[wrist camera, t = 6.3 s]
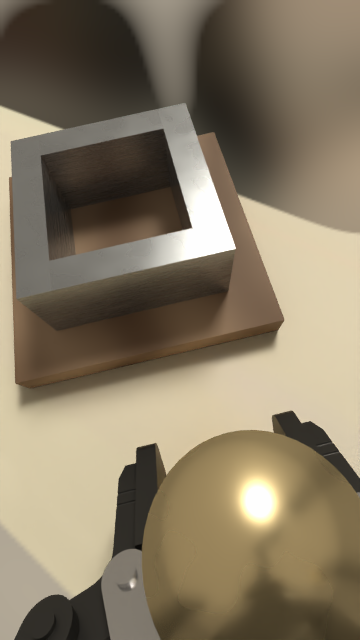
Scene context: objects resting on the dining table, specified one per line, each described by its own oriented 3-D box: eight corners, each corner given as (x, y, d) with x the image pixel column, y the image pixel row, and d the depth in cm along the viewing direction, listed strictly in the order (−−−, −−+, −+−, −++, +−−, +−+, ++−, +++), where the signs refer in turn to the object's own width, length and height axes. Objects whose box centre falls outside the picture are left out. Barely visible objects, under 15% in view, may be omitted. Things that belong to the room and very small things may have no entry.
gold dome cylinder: (255, 430, 16) (328, 408, 7) (285, 531, 14) (434, 683, 5) (169, 451, 16) (124, 457, 7) (190, 555, 14) (167, 753, 5)
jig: (213, 151, 23) (216, 67, 18) (277, 329, 18) (308, 283, 13) (20, 193, 23) (-32, 121, 18) (30, 388, 18) (-41, 364, 13)
